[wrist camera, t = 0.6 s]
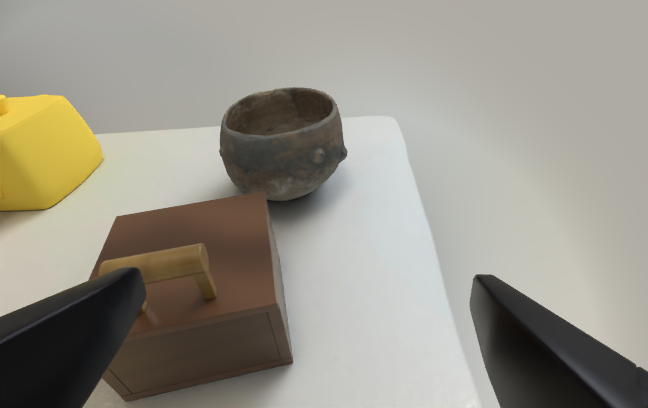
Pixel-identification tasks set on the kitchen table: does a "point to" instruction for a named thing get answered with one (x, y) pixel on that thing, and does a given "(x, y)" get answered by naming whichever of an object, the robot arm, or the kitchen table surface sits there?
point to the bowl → (282, 142)
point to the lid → (196, 262)
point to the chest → (204, 350)
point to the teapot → (42, 151)
